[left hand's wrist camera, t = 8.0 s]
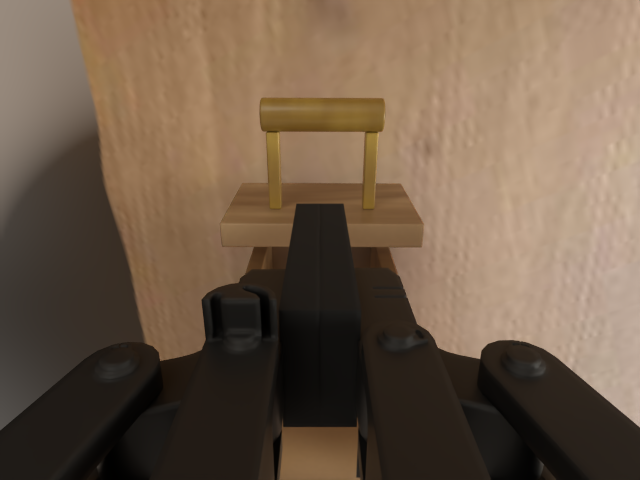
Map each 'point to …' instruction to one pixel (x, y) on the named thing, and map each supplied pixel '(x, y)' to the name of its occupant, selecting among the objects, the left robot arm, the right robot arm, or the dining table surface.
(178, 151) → the dining table surface
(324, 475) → the cabinet
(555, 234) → the dining table surface
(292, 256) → the left robot arm
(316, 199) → the drawer
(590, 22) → the dining table surface
